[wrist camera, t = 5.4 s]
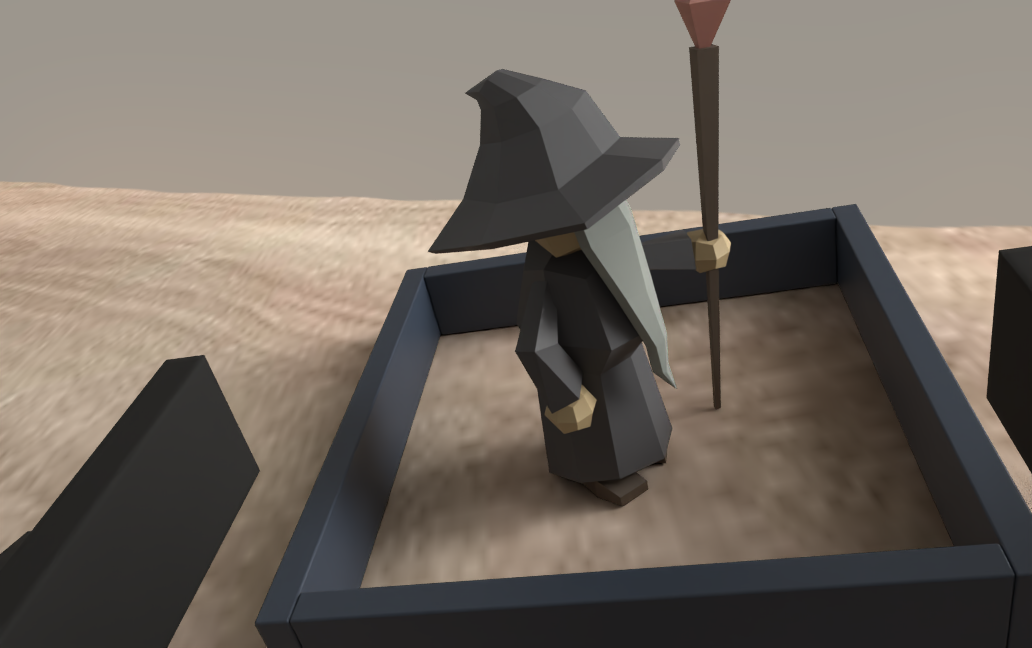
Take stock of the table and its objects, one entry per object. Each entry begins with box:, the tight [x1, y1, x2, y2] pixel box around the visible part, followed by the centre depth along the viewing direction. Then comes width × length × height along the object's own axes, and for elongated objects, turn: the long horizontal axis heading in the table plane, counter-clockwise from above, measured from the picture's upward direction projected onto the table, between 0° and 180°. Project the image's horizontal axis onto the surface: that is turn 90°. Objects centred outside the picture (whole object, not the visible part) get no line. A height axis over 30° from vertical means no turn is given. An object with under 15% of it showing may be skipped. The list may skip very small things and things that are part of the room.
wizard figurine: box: [428, 0, 731, 506], centre depth 21 cm, size 8×6×12 cm
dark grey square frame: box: [255, 204, 1032, 648], centre depth 24 cm, size 16×16×2 cm
